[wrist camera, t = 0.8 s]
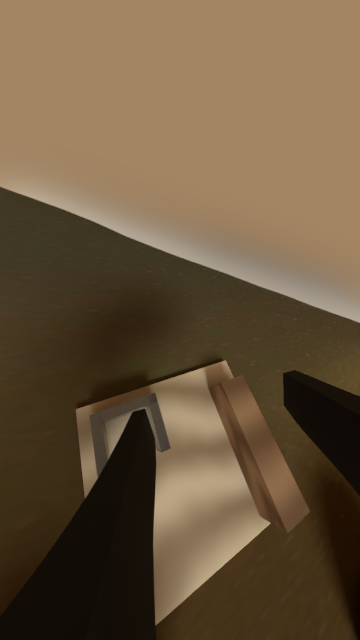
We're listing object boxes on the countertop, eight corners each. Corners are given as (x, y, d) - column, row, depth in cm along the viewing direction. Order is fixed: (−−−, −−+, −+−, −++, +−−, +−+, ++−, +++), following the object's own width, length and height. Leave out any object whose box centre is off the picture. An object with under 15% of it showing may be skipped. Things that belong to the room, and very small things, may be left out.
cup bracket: (164, 446, 21) (170, 448, 18) (101, 476, 18) (98, 484, 16) (151, 396, 23) (155, 392, 21) (93, 417, 20) (89, 415, 18)
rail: (281, 498, 21) (310, 511, 18) (259, 516, 20) (287, 533, 17) (227, 381, 27) (242, 374, 24) (208, 389, 26) (221, 382, 22)
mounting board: (288, 501, 22) (293, 503, 21) (103, 660, 14) (103, 672, 13) (223, 362, 29) (225, 360, 29) (77, 410, 21) (75, 409, 20)
